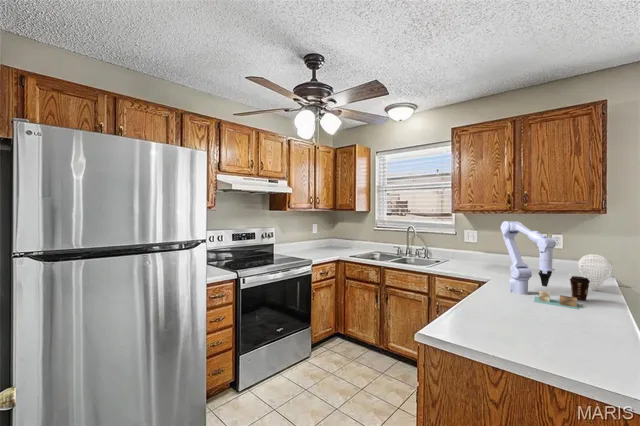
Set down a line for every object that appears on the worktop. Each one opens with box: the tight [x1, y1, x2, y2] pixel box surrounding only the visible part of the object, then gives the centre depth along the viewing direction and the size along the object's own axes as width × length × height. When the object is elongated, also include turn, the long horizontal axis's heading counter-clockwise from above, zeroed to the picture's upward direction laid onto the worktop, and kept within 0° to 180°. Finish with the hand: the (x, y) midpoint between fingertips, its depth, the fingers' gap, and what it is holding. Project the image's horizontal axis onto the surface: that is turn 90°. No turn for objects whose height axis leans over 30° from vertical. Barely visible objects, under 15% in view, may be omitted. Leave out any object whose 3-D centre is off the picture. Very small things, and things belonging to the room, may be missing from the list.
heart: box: [578, 253, 613, 291], centre depth 198 cm, size 28×16×22 cm, turn 140°
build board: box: [533, 296, 580, 310], centre depth 166 cm, size 19×14×1 cm
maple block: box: [538, 290, 551, 302], centre depth 169 cm, size 4×4×4 cm
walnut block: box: [559, 295, 578, 307], centre depth 163 cm, size 7×7×4 cm
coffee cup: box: [569, 275, 591, 302], centre depth 174 cm, size 9×8×13 cm
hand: (545, 285), depth 169 cm, fingers open, 7 cm apart
